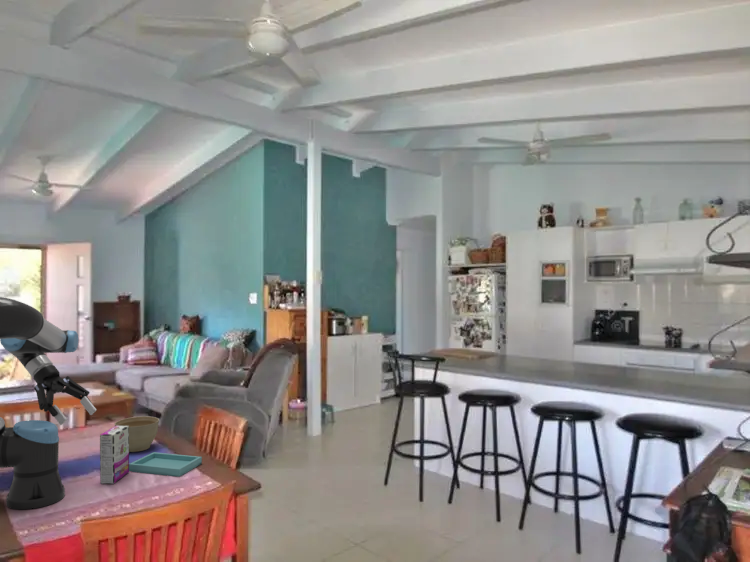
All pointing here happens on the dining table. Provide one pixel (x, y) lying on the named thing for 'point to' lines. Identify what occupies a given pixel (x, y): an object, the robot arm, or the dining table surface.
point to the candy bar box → (114, 454)
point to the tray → (165, 464)
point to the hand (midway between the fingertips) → (79, 417)
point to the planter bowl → (140, 431)
